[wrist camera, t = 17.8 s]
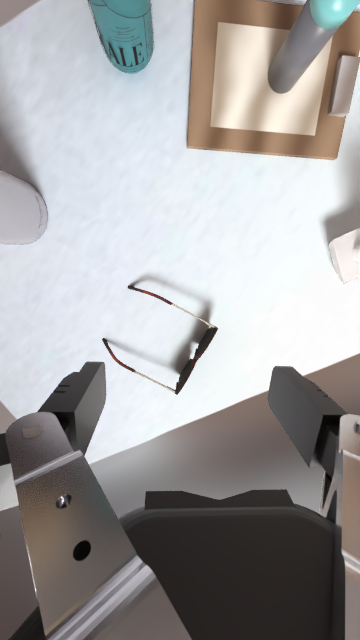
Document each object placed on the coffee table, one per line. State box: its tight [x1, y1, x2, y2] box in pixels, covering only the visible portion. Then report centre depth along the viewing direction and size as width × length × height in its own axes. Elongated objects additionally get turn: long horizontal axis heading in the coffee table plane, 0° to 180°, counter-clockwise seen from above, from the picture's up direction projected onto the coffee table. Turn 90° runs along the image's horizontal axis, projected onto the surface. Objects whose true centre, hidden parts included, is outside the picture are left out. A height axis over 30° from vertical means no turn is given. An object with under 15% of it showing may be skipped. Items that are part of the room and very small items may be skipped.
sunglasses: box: [102, 286, 218, 394], centre depth 41 cm, size 14×16×5 cm
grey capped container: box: [268, 0, 360, 94], centre depth 26 cm, size 4×4×12 cm
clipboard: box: [187, 0, 360, 160], centre depth 32 cm, size 22×16×2 cm
